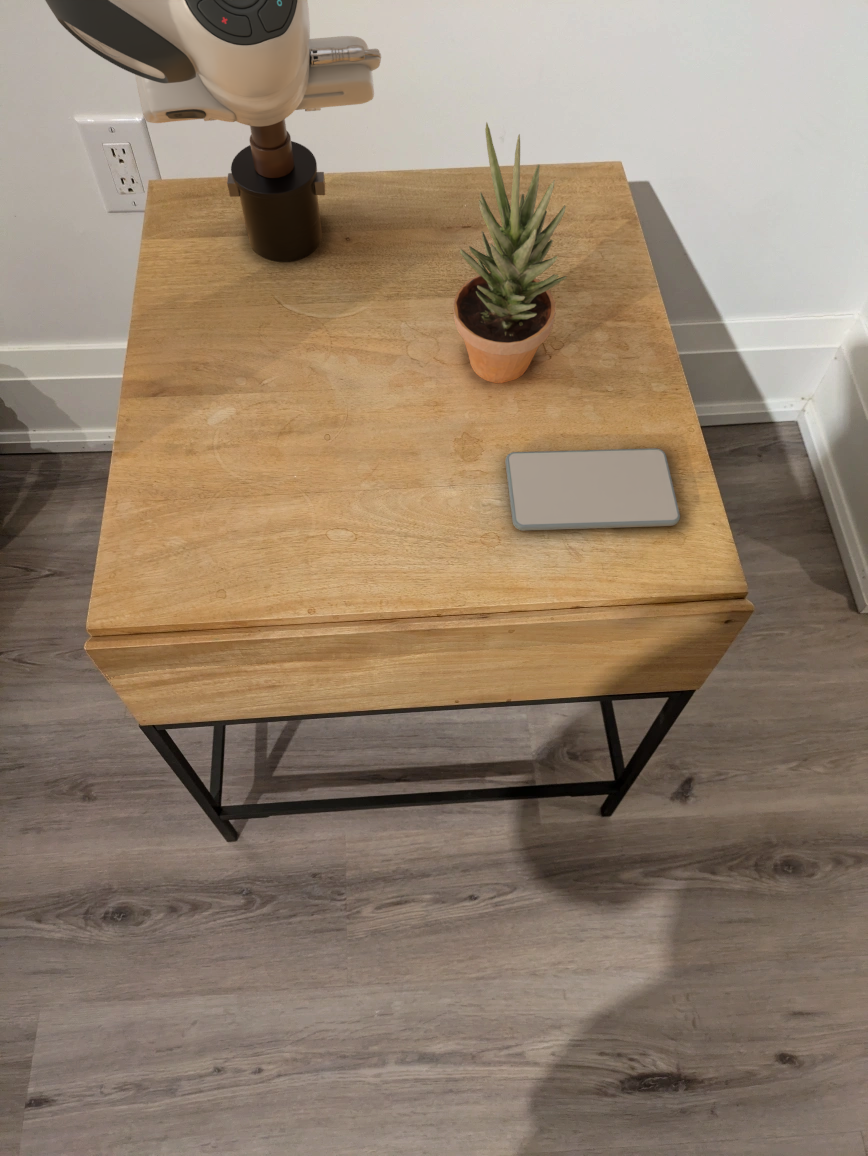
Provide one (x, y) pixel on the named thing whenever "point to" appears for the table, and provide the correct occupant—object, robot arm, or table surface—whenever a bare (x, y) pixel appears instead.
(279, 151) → the walnut pestle
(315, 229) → the black cooking pot
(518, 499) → the smartphone
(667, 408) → the table surface
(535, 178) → the potted plant
